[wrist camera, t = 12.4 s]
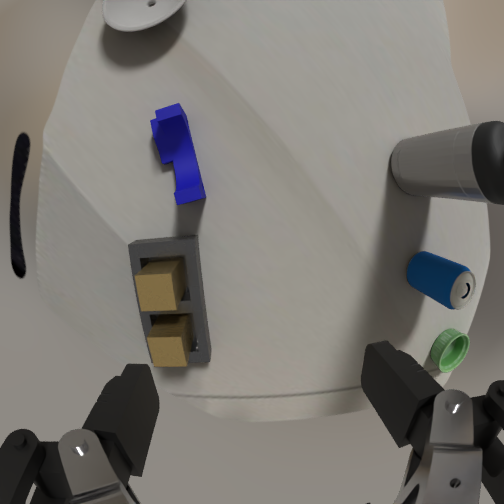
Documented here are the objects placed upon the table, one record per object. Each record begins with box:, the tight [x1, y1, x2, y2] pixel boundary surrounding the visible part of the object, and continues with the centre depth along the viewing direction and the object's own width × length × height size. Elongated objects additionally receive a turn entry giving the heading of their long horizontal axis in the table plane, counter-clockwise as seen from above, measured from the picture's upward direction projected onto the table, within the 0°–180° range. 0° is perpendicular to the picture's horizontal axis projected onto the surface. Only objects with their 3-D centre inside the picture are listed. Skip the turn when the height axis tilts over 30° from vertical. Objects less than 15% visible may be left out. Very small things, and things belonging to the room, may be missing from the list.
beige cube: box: [135, 257, 187, 311], centre depth 34 cm, size 4×4×8 cm
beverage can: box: [407, 251, 476, 310], centre depth 36 cm, size 6×6×12 cm
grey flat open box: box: [128, 235, 211, 363], centre depth 38 cm, size 9×18×4 cm, turn 3°
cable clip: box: [150, 103, 206, 205], centre depth 33 cm, size 12×4×6 cm, turn 14°
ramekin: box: [431, 329, 470, 373], centre depth 44 cm, size 9×9×4 cm
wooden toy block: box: [147, 313, 194, 367], centre depth 36 cm, size 4×4×8 cm
